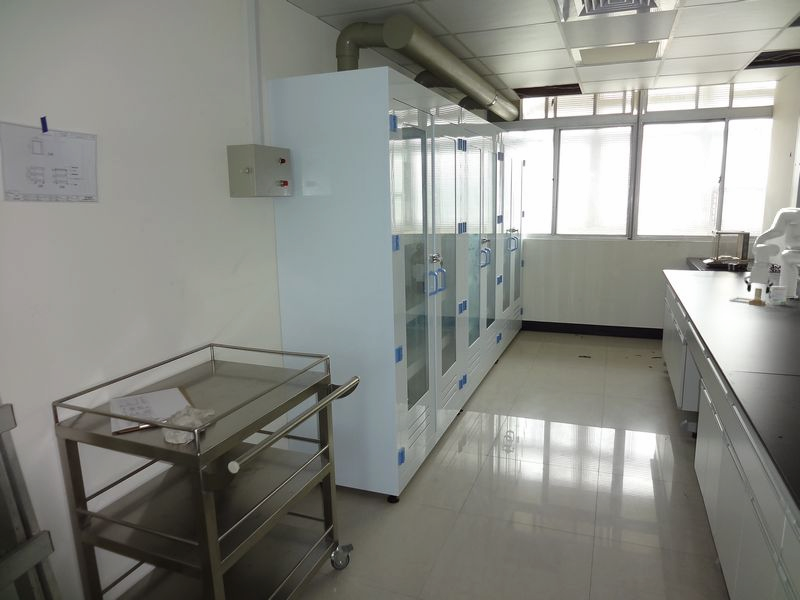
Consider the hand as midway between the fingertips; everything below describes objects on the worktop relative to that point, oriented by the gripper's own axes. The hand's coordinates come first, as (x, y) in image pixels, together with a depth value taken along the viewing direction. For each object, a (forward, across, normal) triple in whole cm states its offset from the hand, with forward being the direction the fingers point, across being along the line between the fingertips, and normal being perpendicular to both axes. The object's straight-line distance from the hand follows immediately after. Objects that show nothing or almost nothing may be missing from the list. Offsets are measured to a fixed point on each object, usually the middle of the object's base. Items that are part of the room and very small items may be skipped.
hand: (757, 292), depth 336 cm
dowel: (+7, 0, -1) cm, 8 cm away
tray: (+8, +10, -7) cm, 14 cm away
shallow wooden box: (+8, 0, -1) cm, 8 cm away
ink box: (+8, -8, -10) cm, 15 cm away
